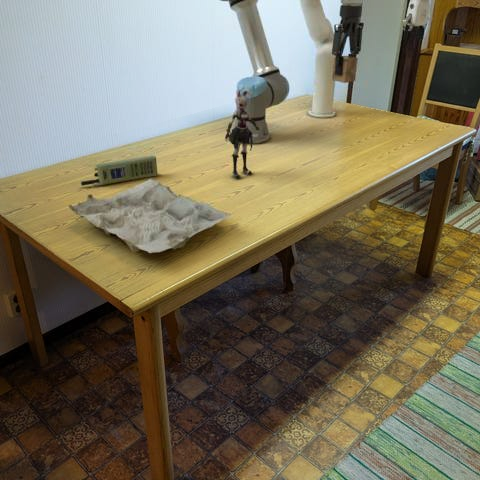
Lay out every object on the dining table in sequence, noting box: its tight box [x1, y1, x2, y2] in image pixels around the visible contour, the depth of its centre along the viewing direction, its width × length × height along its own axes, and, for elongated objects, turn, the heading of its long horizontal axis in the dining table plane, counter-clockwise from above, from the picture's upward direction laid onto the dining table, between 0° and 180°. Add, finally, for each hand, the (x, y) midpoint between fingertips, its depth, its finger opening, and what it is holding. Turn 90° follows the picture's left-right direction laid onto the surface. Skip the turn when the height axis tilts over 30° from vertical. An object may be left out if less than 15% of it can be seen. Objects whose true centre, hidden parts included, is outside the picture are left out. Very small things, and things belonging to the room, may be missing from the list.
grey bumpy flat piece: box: [68, 178, 232, 254], centre depth 138 cm, size 38×6×30 cm
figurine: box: [224, 86, 260, 179], centre depth 165 cm, size 15×6×30 cm, turn 132°
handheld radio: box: [80, 155, 159, 187], centre depth 164 cm, size 7×3×25 cm
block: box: [332, 55, 359, 84], centre depth 185 cm, size 6×6×8 cm
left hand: (344, 73), depth 186 cm, fingers closed on block, 6 cm apart
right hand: (412, 39), depth 216 cm, fingers open, 9 cm apart
